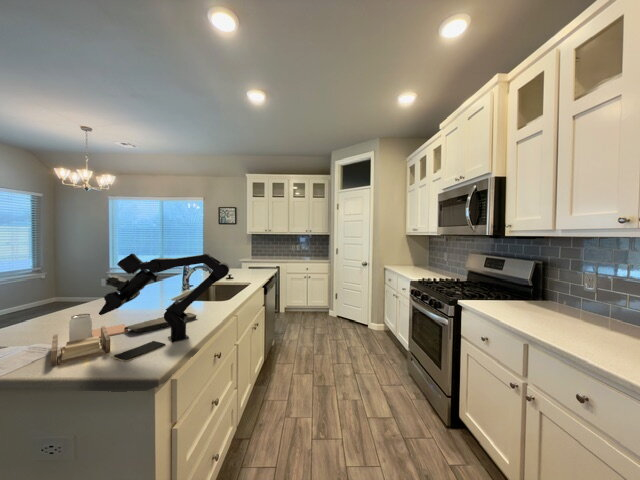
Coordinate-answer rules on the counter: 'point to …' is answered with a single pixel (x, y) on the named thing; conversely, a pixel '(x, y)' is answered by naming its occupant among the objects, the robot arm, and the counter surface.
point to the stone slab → (155, 324)
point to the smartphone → (139, 351)
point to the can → (80, 327)
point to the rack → (80, 348)
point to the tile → (110, 330)
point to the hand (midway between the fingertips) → (105, 311)
